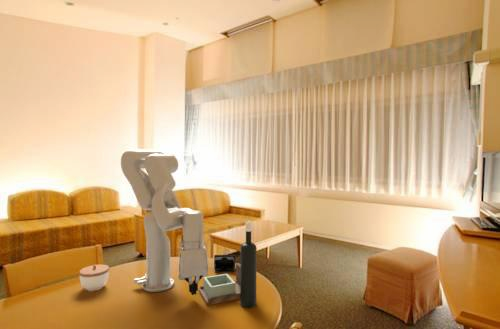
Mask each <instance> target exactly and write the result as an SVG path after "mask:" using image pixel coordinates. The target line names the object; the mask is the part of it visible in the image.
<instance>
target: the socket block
mask: <svg viewBox="0 0 500 329" xmlns="http://www.w3.org/2000/svg"><path fill="white" fill-rule="evenodd" d="M233 280H234V279H233V278H232V277H231V276H230V275H229V274H228V273H223V274H218V275H217V274H216V275H210V276H205V277H203V286H204V290H205V292H206V293H207V295H208V297H209V298H213V297H218V296H223V295H229V294H234V293H236V283H235V282H236V281H235V282H234V281H233Z"/></svg>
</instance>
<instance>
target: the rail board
mask: <svg viewBox="0 0 500 329" xmlns="http://www.w3.org/2000/svg"><path fill="white" fill-rule="evenodd" d="M240 277H241V263H239V262H235V279H232V280H233V281H234V282H235V283H236V293H234V294H229V295H223V296H218V297H213V298H209V297H208V295H207V293H206V292H205V290H204V285H200V288H199V287H198V292H199V294H200V296H201V297H202V300H203V301H204V303H205V304H206V306H210V305H215V304H221V303H225V302H230V301H235V300H240Z"/></svg>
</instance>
